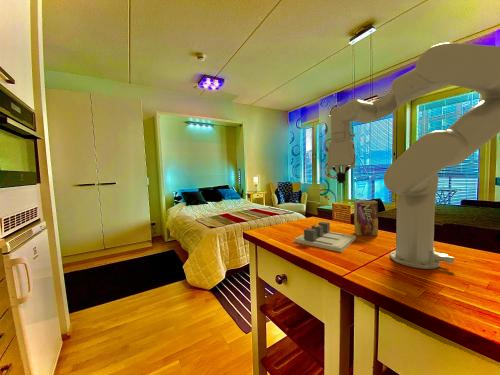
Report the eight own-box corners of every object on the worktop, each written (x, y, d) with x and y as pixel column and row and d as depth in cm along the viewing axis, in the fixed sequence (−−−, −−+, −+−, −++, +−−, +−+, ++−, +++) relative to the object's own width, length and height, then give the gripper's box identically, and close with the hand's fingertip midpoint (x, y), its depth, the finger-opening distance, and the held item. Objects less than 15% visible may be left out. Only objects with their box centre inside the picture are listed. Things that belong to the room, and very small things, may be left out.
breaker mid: (323, 235, 93) (323, 225, 93) (320, 236, 91) (320, 227, 90) (314, 233, 96) (314, 224, 95) (311, 235, 93) (311, 225, 93)
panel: (355, 239, 91) (355, 235, 91) (341, 252, 78) (341, 247, 78) (313, 232, 104) (313, 228, 104) (294, 242, 91) (294, 238, 90)
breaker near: (316, 239, 88) (316, 229, 87) (313, 241, 86) (313, 231, 85) (307, 237, 90) (307, 228, 90) (304, 239, 88) (303, 229, 88)
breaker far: (329, 231, 98) (329, 222, 98) (327, 232, 96) (327, 224, 96) (321, 229, 101) (321, 221, 101) (318, 231, 99) (318, 222, 98)
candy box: (374, 233, 99) (374, 200, 98) (378, 235, 95) (378, 201, 94) (353, 232, 101) (354, 200, 100) (356, 235, 97) (356, 201, 96)
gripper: (363, 136, 86) (363, 182, 87) (325, 141, 95) (326, 182, 97) (358, 134, 80) (359, 183, 82) (319, 139, 90) (320, 183, 91)
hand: (341, 182), depth 89 cm, fingers closed
